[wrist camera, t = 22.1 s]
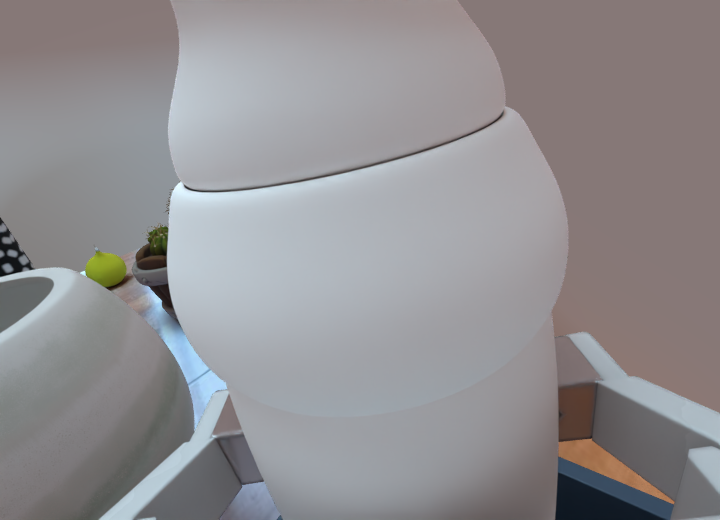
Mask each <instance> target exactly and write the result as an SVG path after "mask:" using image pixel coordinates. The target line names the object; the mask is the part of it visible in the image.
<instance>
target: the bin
mask: <svg viewBox="0 0 720 520" xmlns="http://www.w3.org/2000/svg"><path fill="white" fill-rule="evenodd" d="M673 507H674V504H671V503H669V502H666V501H664V500H661V499H659V498H657V497H654V496H652V495H649V494H647V493H645V492H642V491H640V490H637V489H635V488H633V487H630V486H628V485H625V484H623V483H621V482H618V481H616V480H613V479H611V478H609V477H606V476H604V475H601V474H599V473H597V472H594V471H592V470H589V469H587V468H585V467H582V466H580V465H577V464H575V463H573V462H570V461H568V460H565V459H563V458H561V457H558V477H557V495H556V512H555V520H670V518H671V514H672V510H673ZM277 520H283V519H282V517H281V515H280V516H279V517H278V519H277Z"/></svg>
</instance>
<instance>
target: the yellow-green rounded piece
mask: <svg viewBox="0 0 720 520" xmlns="http://www.w3.org/2000/svg"><path fill="white" fill-rule="evenodd" d="M95 251H96V254H95V256H94V257H92V258H91V259H90V260H89V261H88V263H87V265H86V269H85V272H86V276H87V277H88V278H90V279H91V280H93V281H95V282H97V283H98V284H100V285H102V286H103V287H110V286H114V285H116V284H118V283H120V282H121V281H122V280H123V278H124V277H125V275H126V265H125V263H124V261H123V260H122V259H121V258H120V257H118V256H117V255H114V254H110V253H102V252H100V251H99V249H98V248H95Z"/></svg>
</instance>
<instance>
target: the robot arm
mask: <svg viewBox="0 0 720 520" xmlns="http://www.w3.org/2000/svg"><path fill="white" fill-rule="evenodd" d="M554 338H555V350H556V363H557V379H558V408H559V442H563V441H572V440H582V439H591V438H592V441H594V442H595V443H596V444H598V445H599V446H601V447H602V448H603V449H605V450H606V451H607V452H609V453H610V454H611V455H613V456H614V457H615V458H617V459H618V460H619V461H621V462H622V463H623V464H625V465H626V466H627V467H629V468H630V469H632V470H633V471H634V472H636V473H637V474H638V475H640V476H641V477H642V478H644V479H645V480H646V481H648V482H649V483H650V484H652V485H653V486H654V487H656V488H657V489H658V490H660V491H661V492H663V493H664V494H665V495H667V496H668V497H669V498H671V499H672V500H673V501H675V503H674V507H673V510H672V514H671V518H670V520H720V413H718V412H716V411H713V410H711V409H709V408H707V407H704V406H702V405H700V404H698V403H695V402H693V401H691V400H689V399H686V398H684V397H682V396H680V395H677V394H675V393H673V392H671V391H668V390H666V389H664V388H662V387H659V386H657V385H655V384H653V383H650V382H648V381H646V380H644V379H641V378H639V377H637V376H634V377H629V376H628V375H627V374H626V373H625V372H624V371H623V370H622V368H621V367H620V366H619V365H618V364H617V363H616V362H615V361H614V360H613V359H612V358H611V356H610V355H609V354H608V353H607V352H606V351H605V350H604V349H603V348H602V347H601V346H600V344H599V343H598V342H597V341H596V340H595V339H594V338H593V337H592V336H591V335H590V334H589V333H587V332H580V333H575V334H569V335H565V336H559V337H554ZM263 481H264V480H263V478H262V476H261V473H260V471H259V469H258V467H257V464H256V462H255V460H254V457H253V455H252V453H251V450H250V448H249V445H248V443H247V441H246V438H245V436H244V433H243V430H242V428H241V425H240V422H239V420H238V417H237V415H236V412H235V409H234V406H233V403H232V400H231V397H230V394H229V391H228V389H226V390H218V391H216V392H215V393H214V394H212V396H211V398H210V400H209V402H208V405H207V407H206V409H205V411H204V413H203V415H202V417H201V419H200V421H199V423H198V425H197V427H196V429H195V431H194V434H193V436H192V438H191V440H190V442H185V443H183V444H182V445H181V446H180V447H179V448H178V449H177V450H175V451H174V452H173V453H172V454H171V455H170V456H169V457H168V458H167V459H165V460H164V461H163V462H162V463H161V464H160V465H159V466H158V467H157V468H155V469H154V470H153V471H152V472H151V473H150V474H149V475H148V476H147V477H145V478H144V479H143V480H142V481H141V482H140V483H139V484H138V485H137V486H135V487H134V488H133V489H132V490H131V491H130V492H129V493H128V494H127V495H125V496H124V497H123V498H122V499H121V500H120V501H119V502H118V503H116V504H115V505H114V506H113V507H112V508H111V509H110V510H109V511H108V512H106V513H105V514H104V515H103V516H102V517H101V518H100V519H99V520H219V518H220V517H221V516H222V514H223V513H224V511H225V510H226V509H227V507H228V506H229V505H230V503H231V502H232V500H233V499H234V498H235V496H236V495H237V494H238V492H239V491H240V489H241V488H242V485H245V484H251V483H257V482H263Z"/></svg>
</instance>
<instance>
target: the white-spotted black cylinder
mask: <svg viewBox="0 0 720 520" xmlns="http://www.w3.org/2000/svg"><path fill="white" fill-rule="evenodd" d="M30 270H36V269H35V268H34V266H33V264H32V263H31V262H30V260H29V259H28V257H27V256H26V254H25V253H24V251H23V250H22V248H21V247H20V245H19V244H18V242H17V241H16V240H15V238H14V237H13V235H12V234H11V233H10V231H9V229H8V228H7V227H6V225H5V224H4V222H3V221H2V220H1V218H0V277H3V276H7V275H11V274H15V273H20V272H25V271H30Z"/></svg>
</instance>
